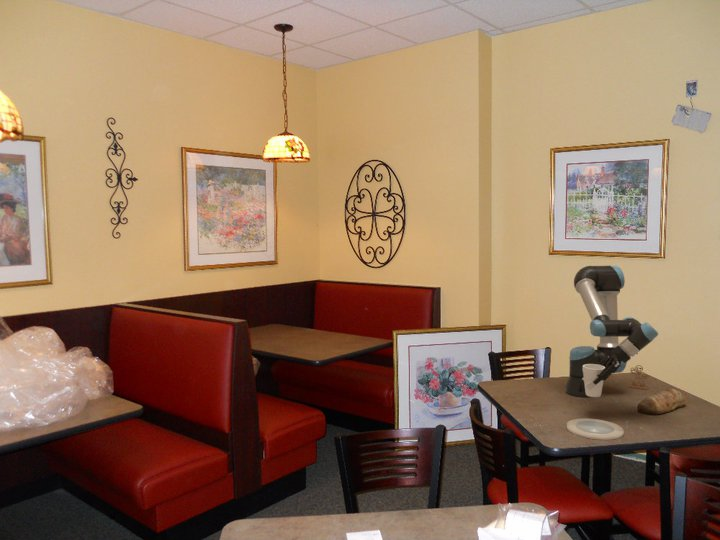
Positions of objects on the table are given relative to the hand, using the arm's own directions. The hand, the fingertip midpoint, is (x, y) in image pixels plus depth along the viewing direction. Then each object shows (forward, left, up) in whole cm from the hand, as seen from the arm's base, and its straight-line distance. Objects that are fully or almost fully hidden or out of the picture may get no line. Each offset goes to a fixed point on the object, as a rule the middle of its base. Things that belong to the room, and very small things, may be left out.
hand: (586, 384), depth 260 cm
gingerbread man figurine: (-16, +58, -14) cm, 61 cm away
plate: (+16, -12, -14) cm, 24 cm away
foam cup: (+2, +2, -5) cm, 6 cm away
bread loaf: (+11, +38, -15) cm, 42 cm away
